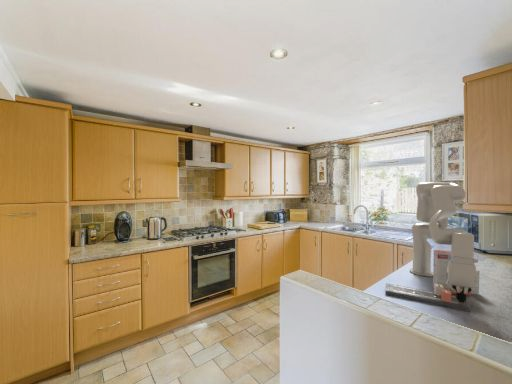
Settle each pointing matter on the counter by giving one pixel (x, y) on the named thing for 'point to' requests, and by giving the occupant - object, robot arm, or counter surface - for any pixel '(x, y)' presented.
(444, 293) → the rust fader
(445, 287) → the cracker box
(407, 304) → the counter surface
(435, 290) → the block
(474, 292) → the skincare box
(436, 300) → the console
